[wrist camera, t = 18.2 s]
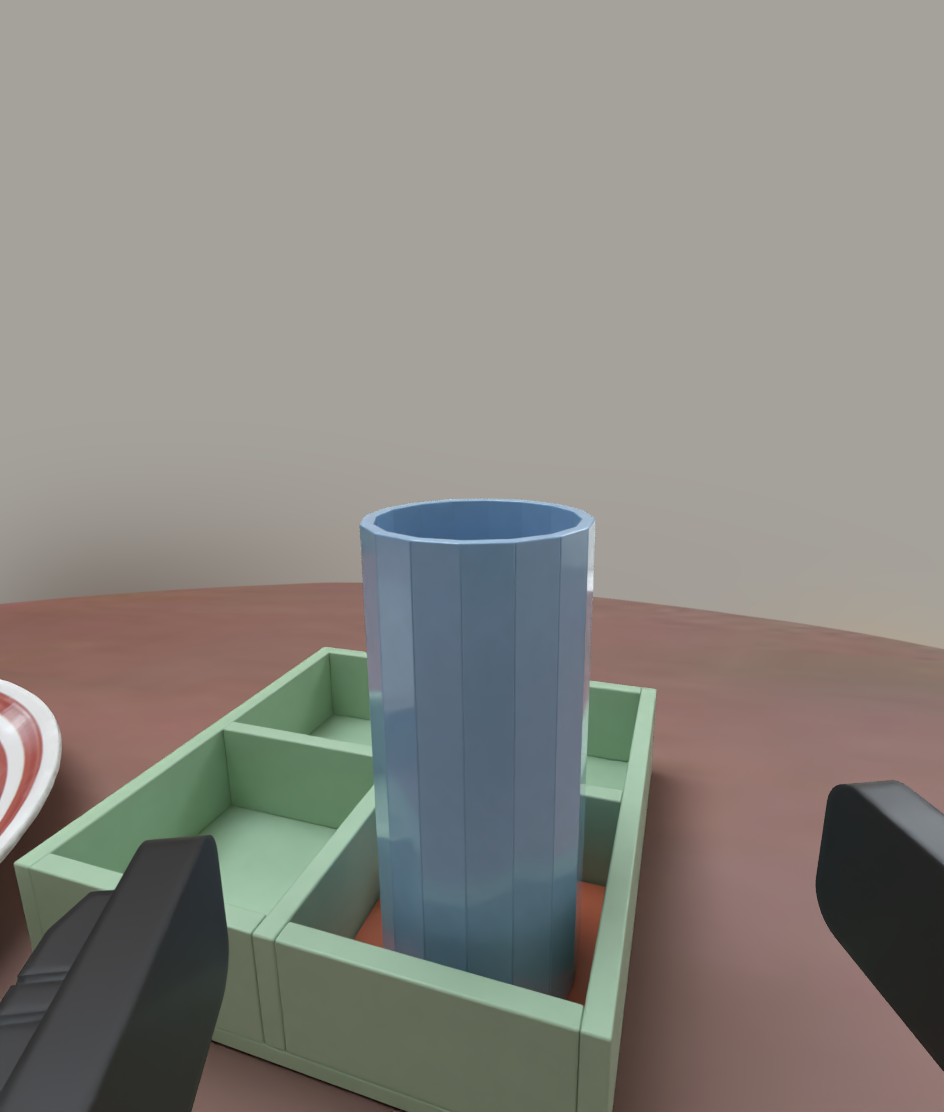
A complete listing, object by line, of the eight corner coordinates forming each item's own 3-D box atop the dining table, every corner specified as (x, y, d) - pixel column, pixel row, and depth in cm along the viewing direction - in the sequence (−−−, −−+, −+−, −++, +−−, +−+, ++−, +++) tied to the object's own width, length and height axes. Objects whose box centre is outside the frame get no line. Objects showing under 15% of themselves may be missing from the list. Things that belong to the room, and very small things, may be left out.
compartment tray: (37, 977, 18) (11, 862, 17) (329, 716, 32) (324, 646, 31) (604, 1185, 13) (612, 1041, 12) (651, 769, 27) (656, 688, 26)
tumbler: (349, 1006, 16) (315, 533, 13) (428, 864, 21) (417, 495, 18) (557, 1071, 14) (571, 550, 11) (590, 902, 19) (607, 503, 16)
